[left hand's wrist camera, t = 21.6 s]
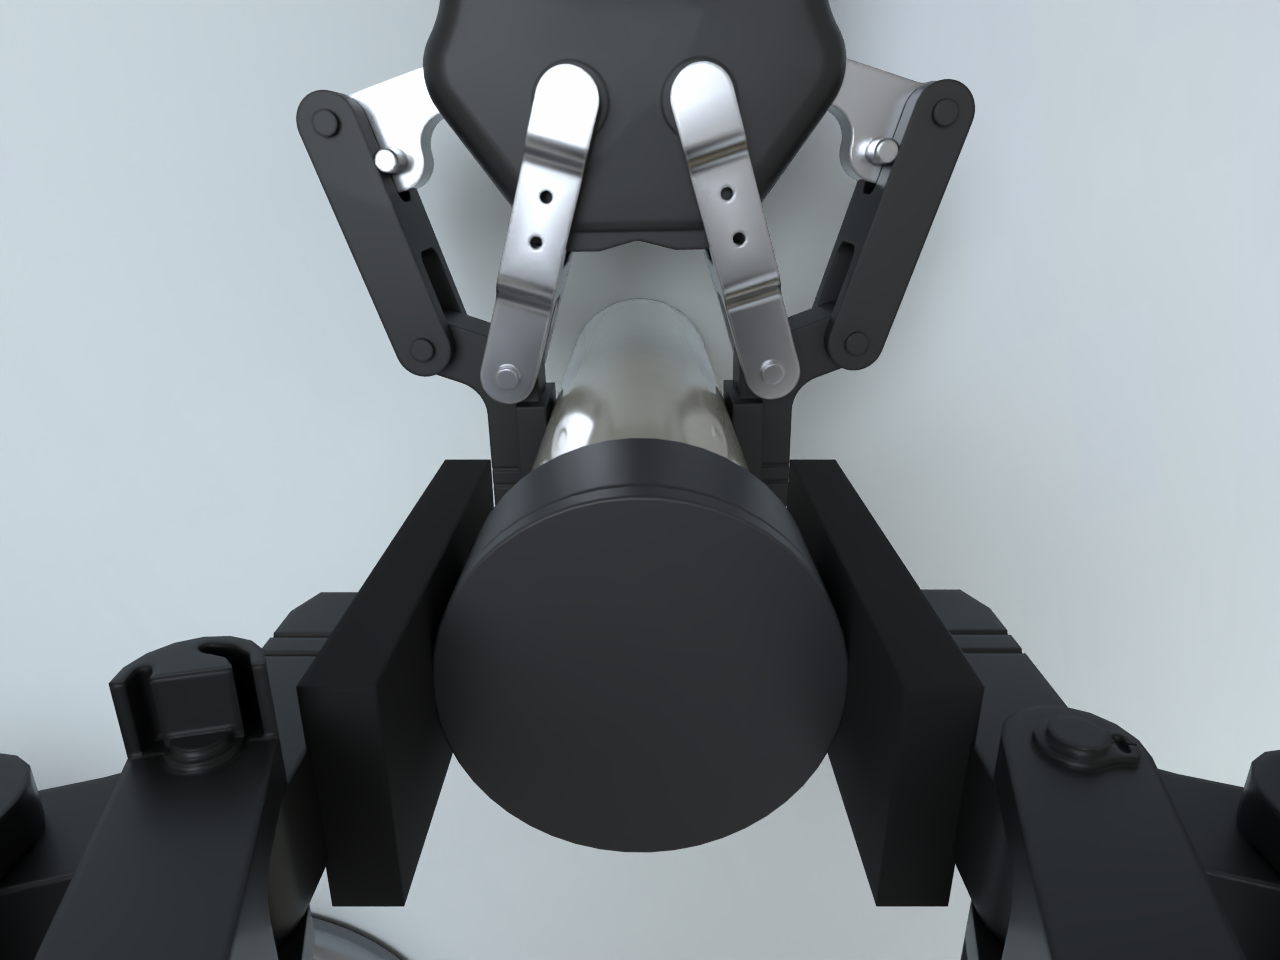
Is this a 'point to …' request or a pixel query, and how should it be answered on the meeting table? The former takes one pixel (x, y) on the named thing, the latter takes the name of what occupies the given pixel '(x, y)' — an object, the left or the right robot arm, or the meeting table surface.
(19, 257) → the meeting table surface
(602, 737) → the lid
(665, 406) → the jar
